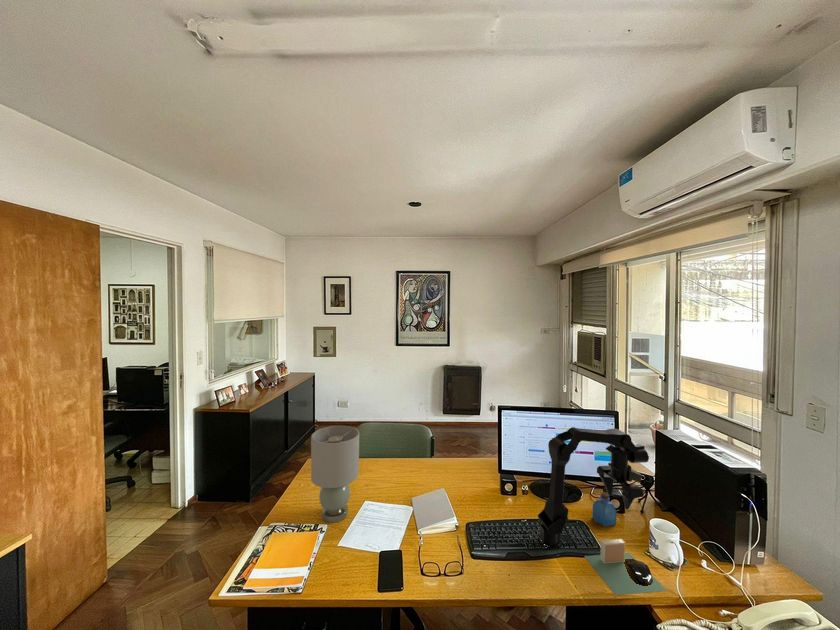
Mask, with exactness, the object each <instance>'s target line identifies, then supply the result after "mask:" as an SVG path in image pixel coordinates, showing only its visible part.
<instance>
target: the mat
mask: <svg viewBox="0 0 840 630" xmlns="http://www.w3.org/2000/svg"><path fill="white" fill-rule="evenodd" d="M600 555H601V554H595V555H583V556H584V558H585V560H586V561H587V562H588V563H589V564H590V566H591V567H592V568H593V569H594V571H595V572H596V573H597V574H598V576H599V577H600V579H602V581H603V582H604V583H605V584H606V586H607V587H608V588H609V589H610V590H611V592H612V594H614V596H619V595H620V596H621V595H632V594H643V593H654V592H657V593H658V592H667V591H668V590H667V589H666V588H665V587H664V586H663V585H662V584H661V582H659V581H658V580H657V579H656V577H654V576H653V583H652V584H651V585H648V586H642V585H639V584H636V583H635V582H634V581H633V580H632V579H631V578H630V576H629V574H628V572H627V569H626V567H625V564H624V562H616V563H603V562H602V561H601V560H600ZM625 559H636V558H635V557H634V556H633V555H632V554H631V553H630V552H625Z"/></svg>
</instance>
